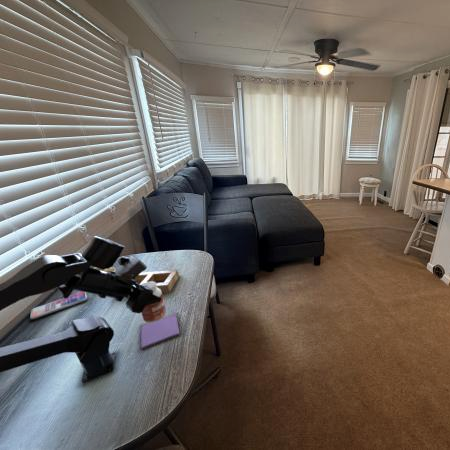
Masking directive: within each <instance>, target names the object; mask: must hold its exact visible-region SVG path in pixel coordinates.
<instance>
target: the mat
mask: <svg viewBox="0 0 450 450" xmlns="http://www.w3.org/2000/svg"><path fill="white" fill-rule="evenodd" d="M140 330H141V331H140V333H141V335H140V336H141V341H140V342H141V343H140V344H141V349H145V348H147V347H151V346H153V345H155V344H157V343H160V342H163V341H166V340H168V339H170V338H173V337H175V336H176V337H177V336H178V335H180V330H179V324H178V319H177V313H174V314H171V315H168V316H164V317H163V318H162V319H160V320H158V321H156V322H151V323H148V322H147V323H145V324H142V325H141V329H140Z"/></svg>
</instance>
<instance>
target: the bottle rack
mask: <svg viewBox="0 0 450 450" xmlns="http://www.w3.org/2000/svg"><path fill="white" fill-rule="evenodd" d="M179 278H180V274H179V270H178V269H171V270H170V269H169V270H158V271H157V270H156V271H142V272H141V273H140V274H139V275H138V276H137V277H136V278H135V281H136V283H138V284H139V285H141V284H143V283H146V282H150V281H153V282H156V284H157V288H159V289H160V290H161V292H162V294H165V293H170V292H171V290H172V289H173V287H174V285H175V284H176V283H177V281H178V280H179ZM159 281H160V282H159ZM161 281H162V282H161ZM163 281H164V282H163Z"/></svg>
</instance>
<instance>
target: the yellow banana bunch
mask: <svg viewBox="0 0 450 450" xmlns="http://www.w3.org/2000/svg"><path fill="white" fill-rule="evenodd" d="M93 268H95V269H98V270H102V271H105V272H107V271H110V270H112V271H116V270H117V268H116V267H115V266H112V267H110V268H109V269H107V268H105V269H99V268H96V267H93Z"/></svg>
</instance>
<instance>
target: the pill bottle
mask: <svg viewBox="0 0 450 450" xmlns="http://www.w3.org/2000/svg"><path fill="white" fill-rule="evenodd" d="M156 283H157V281H155V282H153V281H150V282H146V283H143V284H141V285H144V286H145V285H146V286H148V287H149V288H150V289H152V290H153V294H154V295H156V296H158V297H160V298H162V299H161V301H160V302H158V303H154V304H150V305H147V306H145V308H144V309H143V311H142V312H141V313H140V314H141V317H142V320H143V321H144V322H145V323H147V324H148V323H151V322H156V321H158V320H160V319H162V318H165V317H166V314H167V308H166V304H165V301H164V297H163V293H162V292H161V290H160V289H159V288H157V284H156Z"/></svg>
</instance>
